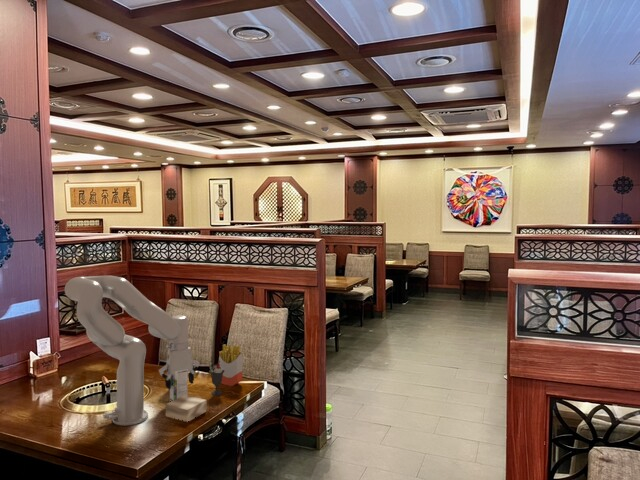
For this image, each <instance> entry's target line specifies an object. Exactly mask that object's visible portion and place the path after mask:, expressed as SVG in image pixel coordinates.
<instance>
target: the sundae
mask: <svg viewBox="0 0 640 480" xmlns="http://www.w3.org/2000/svg"><path fill="white" fill-rule="evenodd" d="M219 362H220V361H219V360H218V362H217V364H213V367H212V369H210V370H209V371H208V372H209V374H210V377H211V382H212V384H213V386H214V387H215V389H214V391H212V392H211V393H210V395H211V396H220V395H223V391H221V390H219V386H220V385H221V384H222V376H223V373H224V372H225V370H223V369H222V368H221V366H220V364H219Z"/></svg>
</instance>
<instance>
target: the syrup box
mask: <svg viewBox="0 0 640 480" xmlns="http://www.w3.org/2000/svg"><path fill="white" fill-rule="evenodd" d="M170 380H171V389H169V402H170V401H171V402H172V401H174V400H176V399H178V398H180V397H182V396H184V395H188V382H189V372H188V369H186V370H184V369H183V370H181V371H175V375H172V376H171V377H170Z"/></svg>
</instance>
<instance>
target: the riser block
mask: <svg viewBox="0 0 640 480" xmlns="http://www.w3.org/2000/svg"><path fill="white" fill-rule="evenodd" d="M207 402H208V401H207V399H204V398H201V397H195V396H191V395H189V394H187V395H184V396H182V397H180V398H178V399H176V400H174V401H172V402H170V401H169V402H167V403H166V404H165V417H166V418H171V419H174V418H175V420H178V419H179V420H178V421H182V420H183V421H182V422H185V421H187V422H186V423H188V421H189V422H190V421H192V420H194V419H195V417H196V418H198V417H199V416H201V415H202V414H204V413H206V412H207Z"/></svg>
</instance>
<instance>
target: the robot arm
mask: <svg viewBox="0 0 640 480" xmlns="http://www.w3.org/2000/svg"><path fill="white" fill-rule="evenodd" d="M64 294H65V296H66V297H67V298H68V299H69V300H71V301H75V302H77V304H76V317H77V320H78V321H79V323H80V324H81V325H82V326H83V327H84V328H85V330H86V331H85V333H86V336H87V337H88V339H89V341H91V342H92V343H93V344H94V345H95V346H97V347H98V348H99V349H100V350H101V351H103V352H104V353H105V354H107V355H108V356H110V357H112V358H114V359H116V360H119V364H118V367H117V370H116V407H114V410H112V411H111V412H105V413H103V414H102V415H103V416H102V417H103V419H104V420H106V419H108V420H112V423H113V424H115V425H117V426H133V425H137V424H141V423H142V422H144V421H146V420H147V419H148V416H149V413H148V411H147V410H145V409H144V407H145V405H144V404H145V403H144V399H145V398H144V393H145V391H144V388H145V385H144V383H145V382H144V381H145V380H144V377H145V376H144V374H145V373H144V371H145V370H144V369H145V368H144V367H145V359H146V355H147V354H146V353H147V348H146V344H145V343H144V342H143V340H141V339H140V338H137V337H135V336H133V335H128V334H126V332H125V328H124V327H123V326H122V324H121V323H120V322H118V321H117V320H116V319H115V318H113V317H112V316H111V314H109V313H108V312H107V311H106V310H105V309H104V307H103V305H102V301H103V298H107V299H111V300H112V301H114V303H116V304H117V305H118V306H119V307H121V309H123V310H124V311H125V312H126V313H127V314H128V315H129V316H130V317H132V318H134V319H135V320H137V321H140V322H141V323H145V324H146V325H148V328H147V329H148V332H149V334H150V335H151V336H153V337H156V338H159V339H162V340H165V341H169V342H168V344H166V345H165V346H166V349H168V350H167V353H166V354H167V356H166V364H165V365H164V366H162V367H161V368H159V369H158V373H159V375H160V376H161V377H162V378H164V379H165V382H164V384H165V388H166V389H168V390H170V389H171V380H170V377H171V376H172V375H175V371H181V370H183V369H184V370H186V369H188V382H189V383H190V384H194V380H195V377H194V376H195V373H196V372H197V370H198V368H199V366H200V364H201V363H200V361H198V360H195V359H193V358H194V357H193V353H192V349H191V346H189V318H188V317H187V316H186V315H181V314H177V315H173V316H171V315H170V314H169V313H167V312H166V311H165V310H164V309H162V308H161V307H159V306H158V305H156V304H155V303H154V302H153V301H151V300H149V299H148V298H147V297H146V296H145V295H144V294H143V293H141V291H140V290H138V288H136V287H135V286H134V285H133V284H132V283H131V282H130V281H129V280H127V279H126V278H124V277H122V276H114V275H96V276H95V275H94V276H93V275H92V276H91V275H89V276H77V277H73V278H71V279H69V280H68V281H67V282H66V284H65V286H64ZM165 371H166V373H165Z"/></svg>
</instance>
